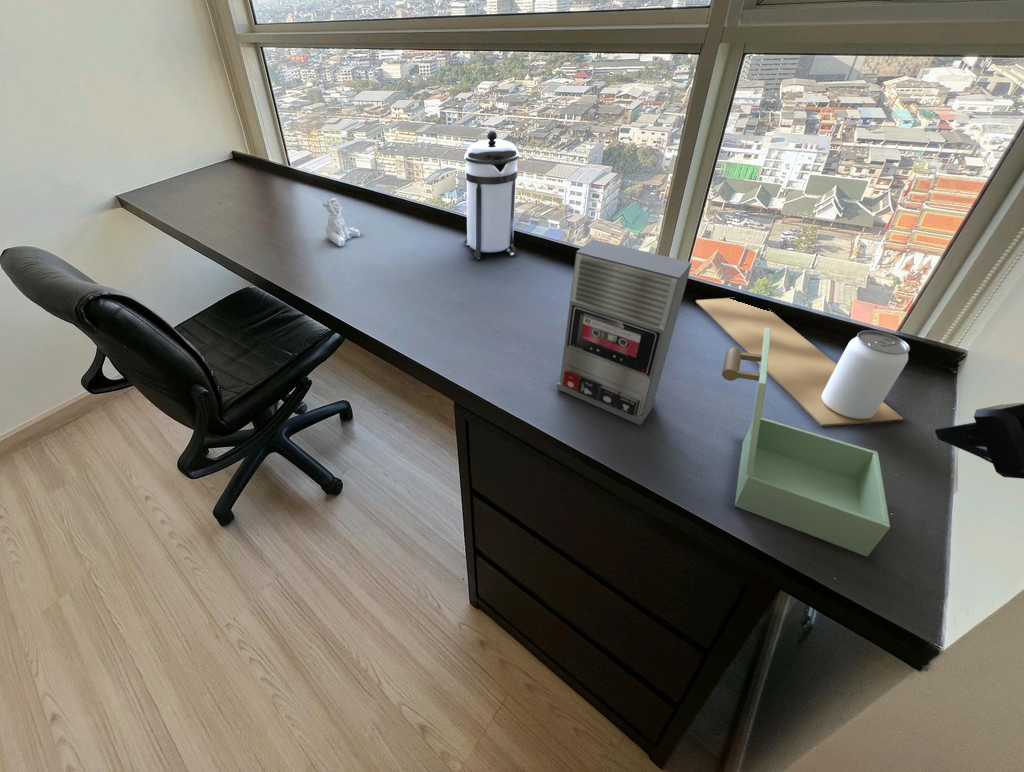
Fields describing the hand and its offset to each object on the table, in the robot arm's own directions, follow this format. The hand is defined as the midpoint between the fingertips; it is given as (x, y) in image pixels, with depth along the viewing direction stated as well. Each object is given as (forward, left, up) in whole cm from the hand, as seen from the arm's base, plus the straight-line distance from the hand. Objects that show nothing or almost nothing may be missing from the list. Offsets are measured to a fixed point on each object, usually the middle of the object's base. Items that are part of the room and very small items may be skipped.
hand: (972, 426), depth 53 cm
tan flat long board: (+15, -27, -13) cm, 33 cm away
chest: (+12, +6, -13) cm, 18 cm away
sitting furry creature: (+122, -31, -13) cm, 126 cm away
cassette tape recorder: (+38, 0, -13) cm, 40 cm away
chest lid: (+19, +6, 0) cm, 20 cm away
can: (+6, -15, -12) cm, 21 cm away
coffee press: (+81, -44, -13) cm, 93 cm away
